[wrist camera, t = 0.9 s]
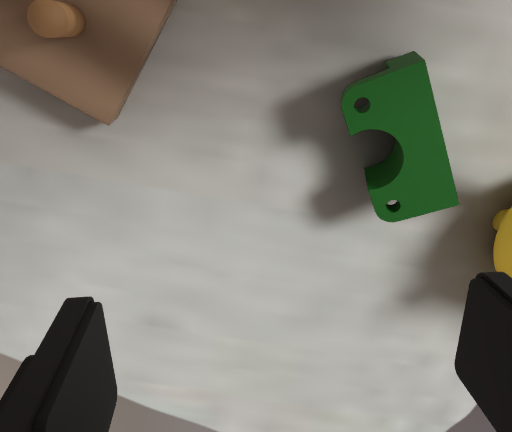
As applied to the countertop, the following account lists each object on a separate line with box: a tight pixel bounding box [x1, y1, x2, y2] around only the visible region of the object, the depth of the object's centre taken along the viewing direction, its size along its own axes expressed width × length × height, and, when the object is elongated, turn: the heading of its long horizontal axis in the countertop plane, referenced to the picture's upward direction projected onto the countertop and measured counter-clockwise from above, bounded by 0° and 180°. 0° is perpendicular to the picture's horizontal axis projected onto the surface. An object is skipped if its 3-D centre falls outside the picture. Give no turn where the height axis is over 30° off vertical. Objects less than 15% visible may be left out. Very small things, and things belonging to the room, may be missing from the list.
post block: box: [0, 0, 177, 126], centre depth 28 cm, size 10×10×8 cm
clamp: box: [341, 51, 459, 222], centre depth 34 cm, size 12×6×9 cm, turn 16°
